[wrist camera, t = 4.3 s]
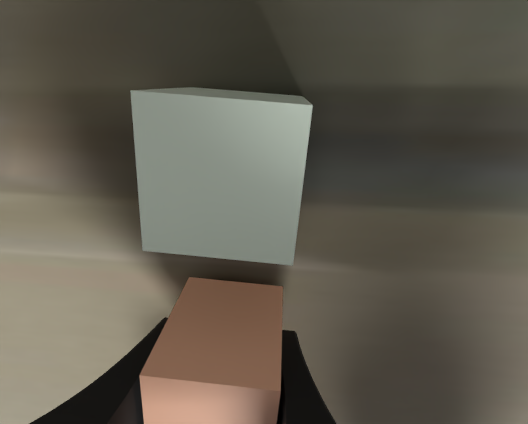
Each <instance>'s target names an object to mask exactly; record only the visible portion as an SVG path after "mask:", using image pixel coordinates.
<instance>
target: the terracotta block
mask: <svg viewBox="0 0 528 424" xmlns="http://www.w3.org/2000/svg"><path fill="white" fill-rule="evenodd" d="M282 310H283V286H273V285H263V284H253V283H243V282H233V281H223V280H213V279H204V278H194V277H189V278H188V280H187V282H186V284H185V286H184V288H183V290H182V292H181V294H180V296H179V298H178V300H177V302H176V304H175V306H174V308H173V310H172V312H171V314H170V316H169V318H168V320H167V322H166V324H165V326H164V328H163V330H162V332H161V334H160V336H159V338H158V340H157V341H156V343H155V345H154V347H153V349H152V351H151V353H150V355H149V357H148V359H147V361H146V363H145V365H144V367H143V369H142V371H141V373H140V375H139V377H140V387H141V398H142V408H143V419H144V424H277V416H278V408H279V400H280V393H281V355H282Z"/></svg>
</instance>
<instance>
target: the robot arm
mask: <svg viewBox="0 0 528 424" xmlns="http://www.w3.org/2000/svg"><path fill="white" fill-rule="evenodd" d="M167 320H168V318H164V319H163V320H162V321H161V322H160V323H159V324H158V325H157V326H156V327H155V328H154V329H153V330H152V331H151V332H150V333H149V334H148V335H147V336H146V337H145V338H144V339H143V340H142V341H140V342H139V343H138V344H137V345H136V346H135V347H134V348H133V349H132V350H131V351H130V352H129V353H128V354H127V355H125V356H124V357H123V358H122V359H121V360H120V361H119V362H117V363H116V364H115V365H114V366H113V367H111V368H110V369H109V370H108V371H107V372H106V373H104V374H103V375H102V376H100V377H99V378H98V379H97V380H95V381H94V382H93V383H91V384H90V385H89V386H87V387H86V388H85V389H83V390H82V391H80V392H79V393H78V394H76V395H75V396H73V397H72V398H70V399H69V400H67V401H66V402H64V403H63V404H61V405H59V406H58V407H56V408H55V409H53V410H52V411H50V412H48V413H47V414H45V415H43V416H42V417H40V418H38V419H37V420H35V421H33V422H31V423H30V424H144V419H143V408H142V398H141V387H140V377H139V375H140V373H141V371H142V369H143V367H144V365H145V363H146V361H147V359H148V357H149V355H150V353H151V351H152V349H153V347H154V345H155V343H156V341H157V340H158V338H159V336H160V334H161V332H162V330H163V328H164V326H165V324H166V322H167ZM277 424H336V422H335V421H334V419H333V417H332V415H331V414H330V412H329V410H328V409H327V407H326V405H325V403H324V401H323V399H322V397H321V395H320V393H319V391H318V389H317V387H316V385H315V383H314V381H313V379H312V376H311V374H310V372H309V369H308V367H307V365H306V362H305V359H304V357H303V354H302V351H301V348H300V345H299V341H298V337H297V334H296V332H295V331H287V330H282V355H281V393H280V400H279V408H278V416H277Z"/></svg>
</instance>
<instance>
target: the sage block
mask: <svg viewBox="0 0 528 424" xmlns="http://www.w3.org/2000/svg"><path fill="white" fill-rule="evenodd" d="M130 91H131V104H132V117H133V131H134V144H135V157H136V170H137V184H138V197H139V210H140V223H141V237H142V250H143V251H150V252H160V253H170V254H180V255H191V256H201V257H211V258H221V259H231V260H241V261H251V262H262V263H272V264H282V265H292V266H293V261H294V253H295V245H296V237H297V229H298V221H299V213H300V205H301V196H302V188H303V180H304V172H305V164H306V156H307V148H308V140H309V132H310V124H311V116H312V108H313V105H312V104H311V103H310V102H309V101H307V100H306V99H305V98H304V97H303V96H295V95H283V94H270V93H258V92H246V91H233V90H221V89H209V88H196V87H185V88H166V89H148V90H130Z"/></svg>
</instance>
